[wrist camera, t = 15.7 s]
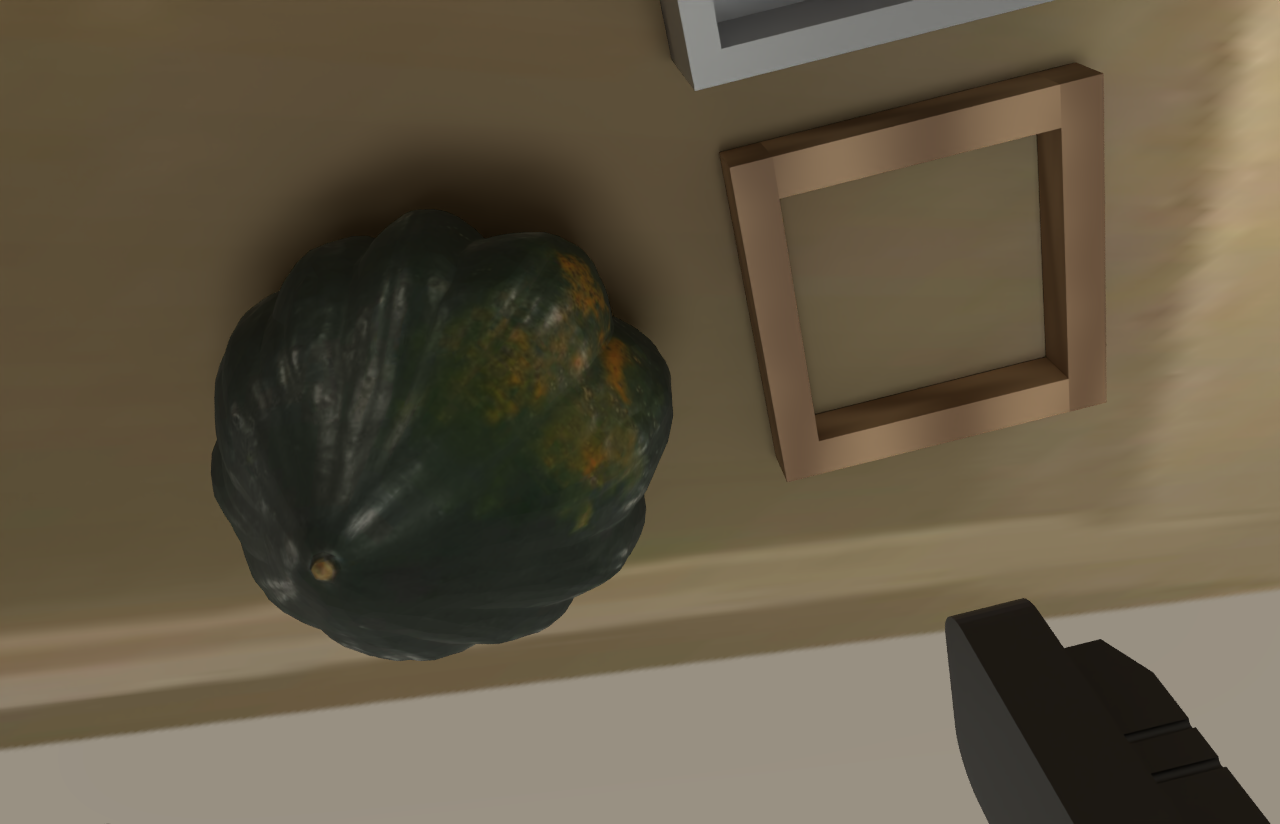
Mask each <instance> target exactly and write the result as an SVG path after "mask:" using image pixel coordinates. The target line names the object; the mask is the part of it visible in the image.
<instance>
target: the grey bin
mask: <svg viewBox="0 0 1280 824" xmlns="http://www.w3.org/2000/svg"><path fill="white" fill-rule="evenodd" d="M1050 1H1053V0H660V4H661V9H662V14H663V19H664V24H665V29H666V34H667V39H668V44H669V49H670V53H671V58H672V61H673V62H674V64H675V65H676V66H677V68H678V69H679V70H680V72H681V73H682V74H683V76H684V77H685V78H686V80H687V81H688V82H689V84H690V85H691V86H692V88H693V89H694V90H695V91H697V90H701V89H705V88H709V87H713V86H717V85H721V84H725V83H729V82H732V81H736V80H740V79H744V78H748V77H752V76H756V75H760V74H764V73H768V72H772V71H776V70H780V69H784V68H788V67H792V66H796V65H800V64H804V63H808V62H812V61H816V60H820V59H824V58H828V57H832V56H836V55H839V54H843V53H847V52H851V51H855V50H859V49H863V48H867V47H871V46H875V45H879V44H883V43H887V42H891V41H895V40H899V39H903V38H907V37H911V36H915V35H919V34H923V33H927V32H931V31H935V30H939V29H943V28H946V27H950V26H954V25H958V24H962V23H966V22H970V21H974V20H978V19H982V18H986V17H990V16H994V15H998V14H1002V13H1006V12H1010V11H1014V10H1018V9H1022V8H1026V7H1030V6H1034V5H1038V4H1042V3H1046V2H1050Z"/></svg>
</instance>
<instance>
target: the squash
mask: <svg viewBox="0 0 1280 824" xmlns="http://www.w3.org/2000/svg"><path fill="white" fill-rule="evenodd" d="M214 400H215V427H216V436H217V441H216V444H215V446H214V449H213V452H212V462H211V477H212V485H213V491H214V496H215V498H216V500H217V502H218V504H219V506H220V507H221V509H222V511H223V513H224V514H225V516H226V517H227V519H228V520H229V522H230V523H231V525H232V527H233V529H234V531H235V533H236V535H237V537H238V538H239V540H240V542H241V544H242V548H243V551H244V555H245V558H246V561H247V563H248V566H249V569H250V571H251V574H252V576H253V578H254V580H255V582H256V583H257V584H258V585H259V586H260V587H261V589H262V590H263V591H264V593H265V594H266V596H267V597H268V599H269V600H270V601H271V602H272V603H274V604H275V605H276V606H277V607H278V608H279V609H280V610H282V611H283V612H284V613H286V614H288V615H290V616H292V617H294V618H295V619H297V620H299V621H301V622H303V623H305V624H307V625H310V626H313V627H315V628H318V629H321V630H322V631H323V632H324V633H325V634H327V635H328V636H329V637H330V638H331V639H333V640H334V641H336V642H338V643H339V644H341V645H342V646H344V647H347V648H349V649H352V650H355V651H358V652H361V653H364V654H367V655H369V656H375V657H378V658H383V659H389V660H396V661H403V660H418V661H427V660H436V659H439V658H443V657H446V656H449V655H452V654H456V653H459V652H462V651H464V650H466V649H467V648H469V647H471V646H473V645H475V644H500V643H504V642H508V641H512V640H515V639H518V638H521V637H524V636H527V635H530V634H534V633H538V632H540V631H542V630H543V629H545V628H547V627H549V626H550V625H551V624H552V623H554V622H555V621H556V620H557V619H558V618H560V617H561V616H562V615H563V614H564V613H565V612H566V610H567V609H568V607H569V605H570V604H571V602H572V600H573V598H574V597H576V596H578V595H580V594H583V593H585V592H587V591H589V590H591V589H593V588H595V587H597V586H599V585H601V584H603V583H604V582H606V581H607V580H609V579H610V578H612V577H613V576H614V575H615V574H616V573H618V572H619V571H620V569H621V568H622V567H623V565H624V564H625V562H626V559H627V558H628V556H629V555H630V554H631V552H632V550H633V549H634V547H635V545H636V543H637V541H638V539H639V537H640V535H641V532H642V529H643V526H644V523H645V513H646V504H645V498H644V493H645V492H646V490H647V488H648V486H649V483H650V481H651V479H652V477H653V474H654V472H655V470H656V467H657V465H658V463H659V460H660V458H661V456H662V454H663V451H664V449H665V447H666V444H667V442H668V438H669V434H670V429H671V424H672V419H673V407H672V393H671V376H670V372H669V368H668V366H667V364H666V362H665V360H664V359H663V357H662V356H661V354H660V353H659V351H658V349H657V348H656V346H655V345H654V344H653V343H652V341H651V340H650V339H648V338H647V337H646V336H645V335H644V334H642V333H641V332H640V331H639V330H638V329H636V328H634V327H632V326H631V325H629V324H627V323H625V322H623V321H622V320H620V319H618V318H616V317H613V316H612V314H611V308H610V304H609V299H608V295H607V292H606V290H605V287H604V284H603V283H602V281H601V279H600V277H599V275H598V272H597V270H596V267H595V265H594V264H593V262H592V261H591V259H590V258H589V257H588V256H587V255H586V253H585V252H584V251H583V250H582V249H580V248H579V247H578V246H576V245H574V244H573V243H570V242H568V241H566V240H564V239H563V238H561V237H559V236H557V235H553V234H549V233H546V232H522V233H510V234H504V235H498V236H494V237H490V238H486V239H485V238H484V237H483V236H482V235H480V234H479V233H478V232H477V231H476V230H475V229H474V228H472V227H471V226H470V225H468V224H467V223H466V222H464V221H463V220H462V219H460V218H459V217H457V216H455V215H453V214H450V213H448V212H445V211H440V210H435V209H430V210H414V211H410V212H407V213H405V214H404V215H402V216H401V217H400V218H398V219H397V220H396V221H394V222H393V223H391V224H390V225H389V226H387V227H386V228H385V229H384V230H383V231H382V232H381V233H380V234H379V235H378V236H377V237H376V239H375V238H372V237H369V236H352V237H348V238H345V239H341V240H337V241H334V242H330V243H327V244H324V245H322V246H320V247H317V248H315V249H313V250H310V251H309V252H308V253H307V254H306V255H305V256H304V257H303V258H302V259H301V260H300V261H299V262H298V263H297V264H296V265H295V266H294V268H293V269H292V271H291V272H290V274H289V275H288V277H287V278H286V279H285V281H284V282H283V284H282V287H281V289H280V291H278V292H276V293H274V294H271V295H269V296H268V297H266V298H265V299H263V300H262V301H260V302H259V303H258V304H256V305H255V306H254V307H252V308H251V309H250V310H249V311H247V312H246V313H245V315H244V316H243V317H242V318H241V319H240V321H239V323H238V325H237V326H236V328H235V330H234V331H233V333H232V335H231V337H230V339H229V342H228V345H227V348H226V352H225V354H224V356H223V358H222V361H221V363H220V366H219V370H218V373H217V377H216V381H215V397H214Z"/></svg>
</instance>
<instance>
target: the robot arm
mask: <svg viewBox="0 0 1280 824" xmlns="http://www.w3.org/2000/svg"><path fill="white" fill-rule="evenodd" d="M945 634H946V643H947V653H948V662H949V671H950V681H951V690H952V700H953V710H954V719H955V728H956V735H957V740H958V745H959V749H960V753H961V757H962V760H963V763H964V767H965V770H966V773H967V776H968V778H969V781H970V784H971V786H972V788H973V791H974V793H975V795H976V798H977V800H978V802H979V804H980V806H981V808H982V810H983V812H984V814H985V816H986V818H987V820H988V822H989V824H1270V823H1269V821H1268V820H1267V819H1266V817H1265V816H1264V815H1263V813H1262V812H1261V811H1260V810H1259V808H1258V807H1257V806H1256V804H1255V803H1254V802H1253V801H1252V799H1251V798H1250V797H1249V796H1248V794H1247V793H1246V792H1245V790H1244V789H1243V788H1242V787H1241V785H1240V784H1239V783H1238V781H1237V780H1236V779H1235V777H1234V776H1233V775H1232V774H1231V772H1230V771H1229V770H1228V768H1227V767H1222V766H1221V764H1220V762H1219V758H1218V756H1217V754H1216V753H1215V752H1214V750H1213V749H1212V748H1211V747H1210V745H1209V744H1208V743H1207V741H1206V740H1205V739H1204V737H1203V736H1202V735H1201V734H1200V732H1199V731H1198V730H1197V728H1196V727H1195V728H1192V727H1191V725H1190V723H1189V718H1188V717H1187V716H1186V714H1185V713H1184V712H1183V711H1182V709H1181V708H1180V707H1179V705H1178V704H1177V703H1176V701H1174V699H1173V697H1172V696H1171V695H1170V694H1169V693H1168V691H1167V690H1166V688H1165V687H1164V686H1163V685H1162V683H1161V682H1160V681H1159V679H1158V678H1157V677H1156V676H1155V674H1154V673H1153V672H1151V671H1150V670H1148V669H1147V668H1145V667H1144V666H1142V665H1141V664H1139V663H1137V662H1136V661H1134V660H1133V659H1131V658H1130V657H1128V656H1126V655H1125V654H1123V653H1122V652H1120V651H1119V650H1117V649H1115V648H1114V647H1112V646H1110V645H1109V644H1107V643H1106V642H1104V641H1103V640H1101V639H1099V640H1096V641H1091V642H1087V643H1083V644H1079V645H1075V646H1071V647H1067V648H1064V647H1063V646H1062V645H1061V643H1060V642H1059V640H1058V639H1057V637H1056V636H1055V634H1054V633H1053V632H1052V630H1051V629H1050V627H1049V626H1048V624H1047V623H1046V621H1045V620H1044V618H1043V617H1042V616H1041V614H1040V613H1039V611H1038V610H1037V609H1036V607H1035V606H1034V605H1033V604H1032V603H1031V602H1030V601H1029V600H1027V599H1024V598H1022V599H1018V600H1014V601H1010V602H1006V603H1002V604H998V605H994V606H990V607H986V608H982V609H978V610H974V611H970V612H966V613H962V614H958V615H954V616H950V617H948V618H947V619H946V623H945Z"/></svg>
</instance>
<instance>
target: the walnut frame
mask: <svg viewBox="0 0 1280 824" xmlns="http://www.w3.org/2000/svg"><path fill="white" fill-rule="evenodd" d="M1035 134H1037V144H1038V169H1039V194H1040V219H1041V244H1042V269H1043V294H1044V319H1045V344H1046V357H1044V358H1040V359H1036V360H1032V361H1028V362H1024V363H1020V364H1016V365H1012V366H1008V367H1004V368H1000V369H996V370H992V371H988V372H984V373H980V374H976V375H972V376H968V377H964V378H960V379H956V380H952V381H948V382H944V383H940V384H936V385H932V386H928V387H924V388H920V389H916V390H912V391H908V392H904V393H900V394H896V395H892V396H888V397H884V398H880V399H876V400H872V401H868V402H864V403H860V404H856V405H852V406H848V407H844V408H840V409H836V410H832V411H828V412H824V413H820V414H816V415H815V414H814V408H813V402H812V396H811V390H810V384H809V378H808V371H807V365H806V359H805V353H804V347H803V341H802V335H801V328H800V322H799V316H798V310H797V304H796V298H795V292H794V285H793V279H792V273H791V267H790V261H789V255H788V248H787V242H786V236H785V230H784V224H783V218H782V212H781V205H780V199H781V198H785V197H789V196H793V195H797V194H801V193H805V192H809V191H813V190H817V189H821V188H824V187H828V186H832V185H836V184H840V183H844V182H848V181H852V180H856V179H860V178H864V177H868V176H872V175H876V174H880V173H884V172H888V171H892V170H896V169H900V168H904V167H908V166H912V165H916V164H920V163H924V162H928V161H932V160H936V159H940V158H944V157H948V156H952V155H956V154H960V153H964V152H968V151H972V150H975V149H979V148H983V147H987V146H991V145H995V144H999V143H1003V142H1007V141H1011V140H1015V139H1019V138H1023V137H1027V136H1031V135H1035ZM719 155H720V160H721V165H722V171H723V176H724V181H725V187H726V192H727V197H728V203H729V208H730V213H731V219H732V224H733V229H734V235H735V240H736V245H737V251H738V256H739V262H740V267H741V272H742V278H743V283H744V288H745V294H746V299H747V304H748V310H749V315H750V320H751V326H752V331H753V336H754V342H755V347H756V352H757V358H758V363H759V368H760V374H761V379H762V384H763V390H764V395H765V401H766V406H767V411H768V417H769V422H770V427H771V433H772V438H773V443H774V449H775V454H776V458H777V460H778V462H779V465H780V467H781V469H782V471H783V474H784V476H785V478H786V481H787V482H790V481H794V480H798V479H802V478H806V477H810V476H814V475H818V474H822V473H826V472H830V471H834V470H838V469H842V468H846V467H850V466H854V465H858V464H862V463H866V462H870V461H874V460H878V459H882V458H886V457H890V456H894V455H898V454H902V453H906V452H910V451H914V450H918V449H922V448H926V447H930V446H934V445H938V444H942V443H946V442H950V441H954V440H958V439H962V438H966V437H970V436H974V435H978V434H982V433H986V432H990V431H994V430H998V429H1002V428H1006V427H1010V426H1014V425H1018V424H1022V423H1026V422H1030V421H1034V420H1038V419H1042V418H1046V417H1050V416H1054V415H1058V414H1062V413H1066V412H1070V411H1074V410H1078V409H1082V408H1086V407H1090V406H1094V405H1098V404H1102V403H1106V402H1107V400H1106V294H1105V187H1104V80H1103V73H1101V72H1098V71H1096V70H1093V69H1091V68H1088V67H1086V66H1083V65H1081V64H1078V63H1072V64H1068V65H1064V66H1060V67H1056V68H1052V69H1048V70H1044V71H1040V72H1036V73H1032V74H1028V75H1025V76H1021V77H1017V78H1013V79H1009V80H1005V81H1001V82H997V83H993V84H989V85H985V86H981V87H977V88H973V89H969V90H965V91H961V92H957V93H953V94H949V95H945V96H941V97H937V98H933V99H929V100H925V101H921V102H917V103H913V104H909V105H905V106H901V107H898V108H894V109H890V110H886V111H882V112H878V113H874V114H870V115H866V116H862V117H858V118H854V119H850V120H846V121H842V122H838V123H834V124H830V125H826V126H822V127H818V128H814V129H810V130H806V131H802V132H798V133H794V134H790V135H786V136H782V137H778V138H774V139H771V140H767V141H763V142H759V143H755V144H751V145H747V146H743V147H739V148H735V149H731V150H727V151H723V152H719Z"/></svg>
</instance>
